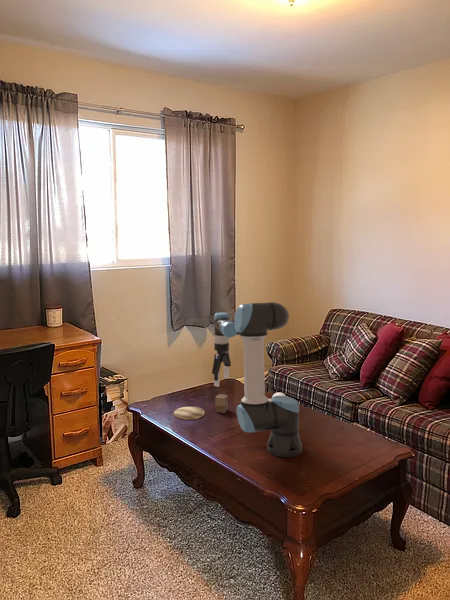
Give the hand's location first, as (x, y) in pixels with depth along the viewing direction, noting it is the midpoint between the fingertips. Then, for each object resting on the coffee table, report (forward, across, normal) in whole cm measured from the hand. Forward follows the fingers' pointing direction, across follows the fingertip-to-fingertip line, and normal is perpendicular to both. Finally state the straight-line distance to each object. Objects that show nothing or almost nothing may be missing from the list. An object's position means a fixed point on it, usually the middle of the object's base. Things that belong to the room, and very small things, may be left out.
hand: (221, 382), depth 256 cm
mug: (+16, +12, -26) cm, 33 cm away
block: (+16, 0, 0) cm, 16 cm away
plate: (+16, -10, +14) cm, 23 cm away
